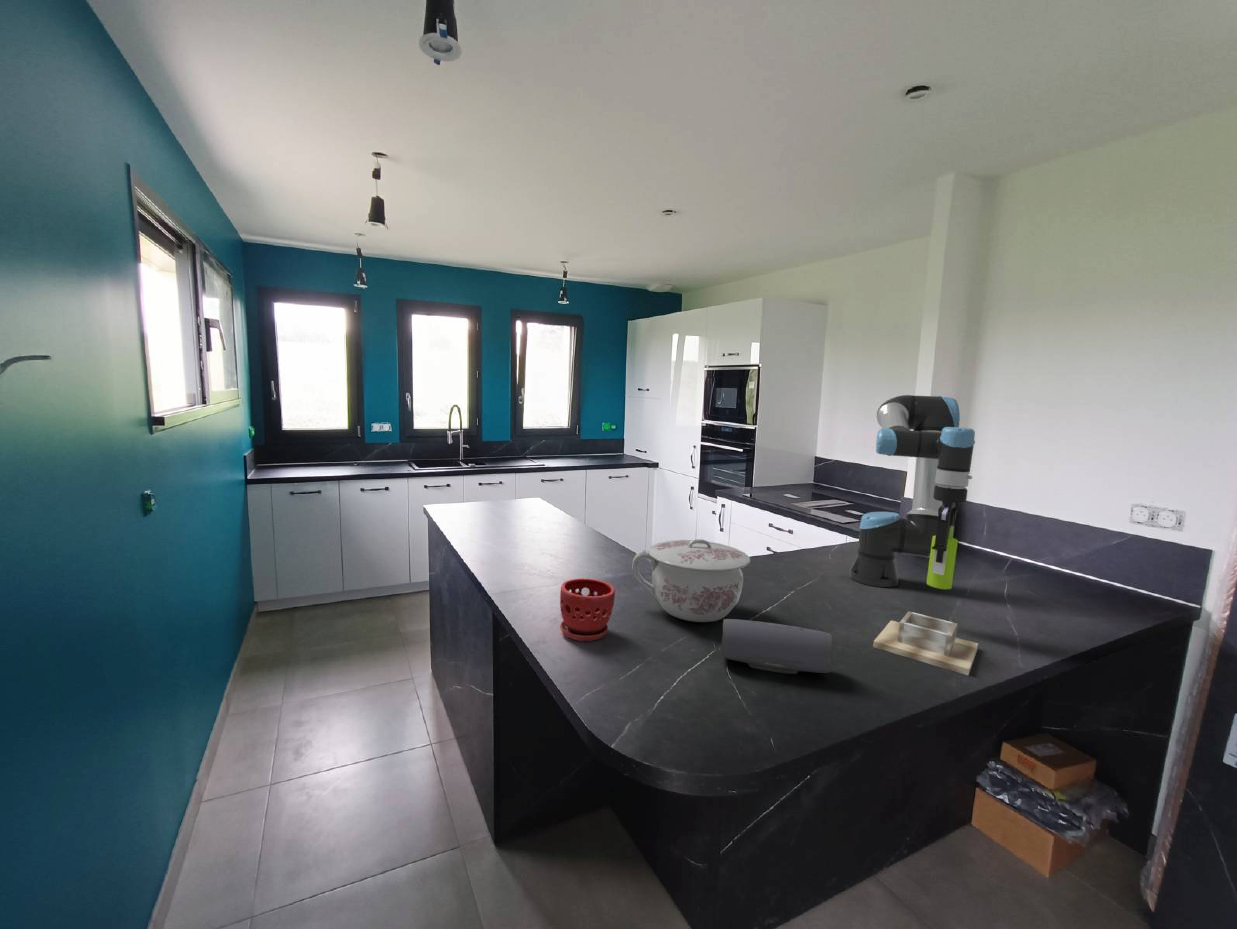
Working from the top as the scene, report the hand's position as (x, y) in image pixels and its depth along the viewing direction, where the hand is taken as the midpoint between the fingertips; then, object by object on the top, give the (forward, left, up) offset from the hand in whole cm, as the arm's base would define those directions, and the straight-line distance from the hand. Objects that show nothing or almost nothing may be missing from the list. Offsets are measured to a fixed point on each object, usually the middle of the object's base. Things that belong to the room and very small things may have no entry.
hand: (940, 570), depth 149 cm
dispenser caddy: (+1, -17, -16) cm, 23 cm away
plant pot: (-64, -70, -16) cm, 96 cm away
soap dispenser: (0, +1, -4) cm, 4 cm away
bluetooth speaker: (-23, -54, -16) cm, 61 cm away
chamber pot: (-52, -39, -16) cm, 67 cm away
